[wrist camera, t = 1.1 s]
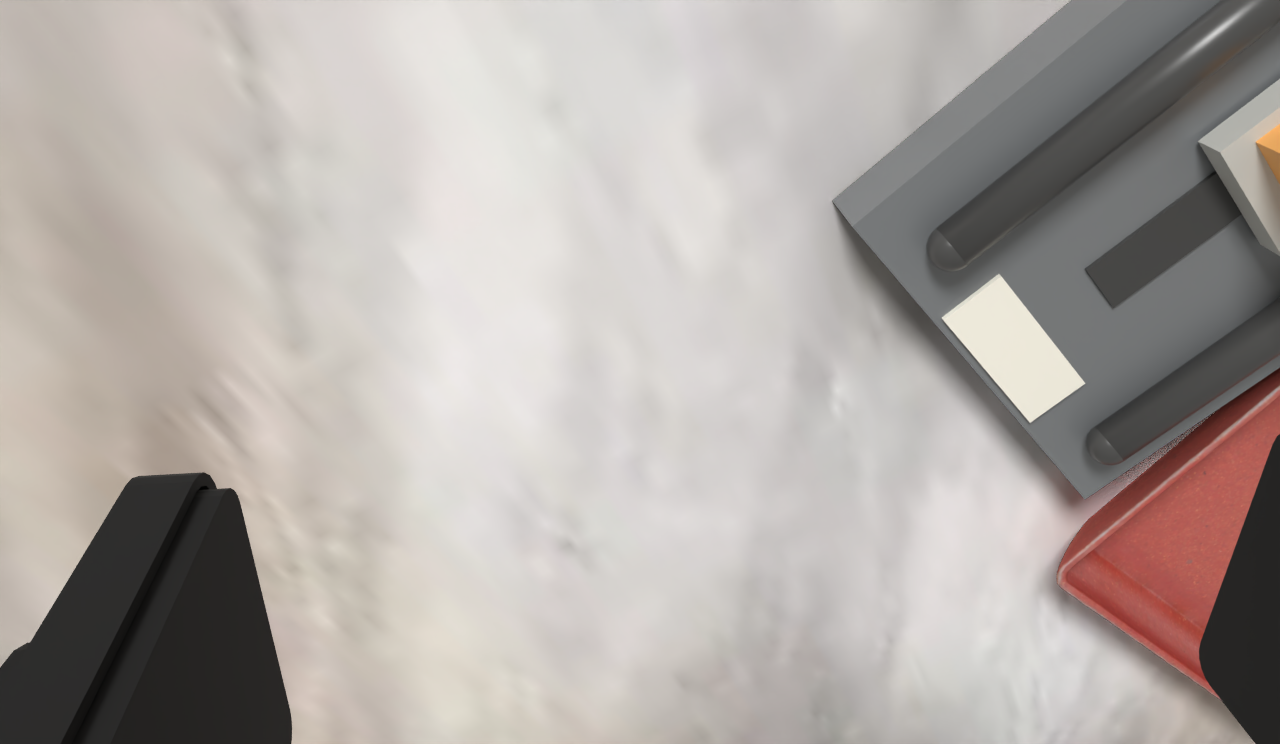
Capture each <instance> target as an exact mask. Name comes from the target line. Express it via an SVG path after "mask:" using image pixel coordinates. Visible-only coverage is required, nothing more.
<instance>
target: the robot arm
mask: <svg viewBox="0 0 1280 744" xmlns="http://www.w3.org/2000/svg"><path fill="white" fill-rule="evenodd" d="M1199 660H1200V665H1201V669H1202V671H1203V674H1204V676H1205V679H1206V680H1207V682H1208V683H1209V685H1210V686H1211V688H1212V689H1213V690H1214V691H1215V693H1216V694H1217V695H1218V696H1219V698H1220V699H1221V700H1222V702H1223V703H1224V704H1225V705H1226V707H1227V708H1228V709H1229V710H1230V712H1231V713H1232V714H1233V716H1234V717H1235V718H1236V719H1237V721H1238V722H1239V723H1240V724H1241V726H1242V727H1243V728H1244V729H1245V731H1246V732H1247V733H1248V735H1249V736H1250V737H1251V738H1252V740H1253V741H1254V742H1255V743H1256V744H1280V434H1279V435H1278V436H1277V437H1276V439H1275V441H1274V443H1273V444H1272V447H1271V450H1270V453H1269V455H1268V458H1267V461H1266V464H1265V466H1264V469H1263V472H1262V475H1261V477H1260V480H1259V483H1258V486H1257V488H1256V491H1255V494H1254V497H1253V499H1252V502H1251V505H1250V508H1249V510H1248V513H1247V516H1246V518H1245V521H1244V524H1243V527H1242V529H1241V532H1240V535H1239V538H1238V540H1237V543H1236V546H1235V549H1234V551H1233V554H1232V557H1231V560H1230V562H1229V565H1228V568H1227V571H1226V573H1225V576H1224V579H1223V582H1222V584H1221V587H1220V590H1219V593H1218V595H1217V598H1216V601H1215V604H1214V606H1213V609H1212V612H1211V615H1210V617H1209V620H1208V623H1207V625H1206V628H1205V631H1204V634H1203V636H1202V639H1201V642H1200V647H1199ZM291 740H292V721H291V713H290V708H289V704H288V700H287V696H286V691H285V687H284V683H283V679H282V675H281V671H280V667H279V662H278V658H277V654H276V650H275V646H274V642H273V637H272V633H271V629H270V625H269V621H268V617H267V613H266V608H265V604H264V600H263V596H262V592H261V588H260V584H259V579H258V575H257V571H256V567H255V563H254V559H253V555H252V550H251V546H250V542H249V538H248V534H247V530H246V525H245V521H244V517H243V513H242V509H241V505H240V501H239V498H238V495H237V494H236V492H235V491H234V490H233V489H231V488H226V489H217V488H216V485H215V483H214V481H213V480H212V478H211V476H210V475H208V474H206V473H187V474H169V475H151V476H138V477H135V478H132V479H131V480H130V481H129V482H128V483H127V485H126V486H125V487H124V489H123V491H122V492H121V494H120V496H119V497H118V499H117V501H116V502H115V504H114V505H113V507H112V509H111V510H110V512H109V514H108V515H107V517H106V519H105V520H104V522H103V524H102V525H101V527H100V529H99V530H98V532H97V533H96V535H95V537H94V538H93V540H92V542H91V543H90V545H89V547H88V548H87V550H86V552H85V553H84V555H83V557H82V558H81V560H80V561H79V563H78V565H77V566H76V568H75V570H74V571H73V573H72V575H71V576H70V578H69V580H68V581H67V583H66V585H65V586H64V588H63V590H62V591H61V593H60V594H59V596H58V598H57V599H56V601H55V603H54V604H53V606H52V608H51V609H50V611H49V613H48V614H47V616H46V618H45V619H44V621H43V622H42V624H41V626H40V627H39V629H38V631H37V632H36V634H35V636H34V637H33V639H32V641H31V642H30V643H26V644H25V645H23V646H21V647H19V648H18V649H16V650H14V651H13V653H12V654H11V655H10V656H9V657H8V659H7V660H6V661H5V662H4V664H3V665H2V666H1V667H0V744H291Z"/></svg>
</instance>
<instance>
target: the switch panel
mask: <svg viewBox="0 0 1280 744" xmlns="http://www.w3.org/2000/svg"><path fill="white" fill-rule="evenodd" d="M1279 79H1280V0H1071V1H1070V2H1069V3H1068V4H1066V5H1065V6H1064V7H1063V8H1062V9H1060V10H1059V11H1058V12H1057V13H1056V14H1054V15H1053V16H1052V17H1051V18H1050V19H1049V20H1047V21H1046V22H1045V23H1044V24H1043V25H1041V26H1040V27H1039V28H1038V29H1037V30H1035V31H1034V32H1033V33H1032V34H1031V35H1029V36H1028V37H1027V38H1026V39H1025V40H1023V41H1022V42H1021V43H1020V44H1019V45H1018V46H1016V47H1015V48H1014V49H1013V50H1012V51H1010V52H1009V53H1008V54H1007V55H1006V56H1004V57H1003V58H1002V59H1001V60H1000V61H998V62H997V63H996V64H995V65H994V66H992V67H991V68H990V69H989V70H988V71H986V72H985V73H984V74H983V75H982V76H981V77H979V78H978V79H977V80H976V81H975V82H973V83H972V84H971V85H970V86H969V87H967V88H966V89H965V90H964V91H963V92H961V93H960V94H959V95H958V96H957V97H955V98H954V99H953V100H952V101H951V102H950V103H948V104H947V105H946V106H945V107H944V108H942V109H941V110H940V111H939V112H938V113H936V114H935V115H934V116H933V117H932V118H930V119H929V120H928V121H927V122H926V123H924V124H923V125H922V126H921V127H920V128H918V129H917V130H916V131H915V132H914V133H913V134H911V135H910V136H909V137H908V138H907V139H905V140H904V141H903V142H902V143H901V144H899V145H898V146H897V147H896V148H895V149H893V150H892V151H891V152H890V153H889V154H887V155H886V156H885V157H884V158H883V159H882V160H880V161H879V162H878V163H877V164H876V165H874V166H873V167H872V168H871V169H870V170H868V171H867V172H866V173H865V174H864V175H862V176H861V177H860V178H859V179H858V180H856V181H855V182H854V183H853V184H852V185H850V186H849V187H848V188H847V189H846V190H845V191H843V192H842V193H841V194H840V195H839V196H837V197H836V198H835V199H834V200H833V202H834V204H835V205H836V206H837V208H838V209H839V210H840V212H841V213H842V214H843V216H844V217H845V218H846V219H847V221H848V222H849V223H850V225H851V226H852V227H853V228H854V230H855V231H856V232H857V233H858V234H859V235H860V237H861V238H862V239H863V240H864V241H865V242H866V244H867V245H868V246H869V247H870V248H871V250H872V251H873V252H874V253H875V254H876V255H877V257H878V258H879V259H880V260H881V261H882V262H883V264H884V265H885V266H886V267H887V268H888V269H889V271H890V272H891V273H892V274H893V275H894V276H895V278H896V279H897V280H898V281H899V282H900V284H901V285H902V286H903V287H904V288H905V289H906V291H907V292H908V293H909V294H910V295H911V296H912V298H913V299H914V300H915V301H916V302H917V303H918V305H919V306H920V307H921V308H922V309H923V310H924V312H925V313H926V314H927V315H928V316H929V318H930V319H931V320H932V321H933V322H934V323H935V325H936V326H937V327H938V328H939V329H940V330H941V332H942V333H943V334H944V335H945V336H946V337H947V339H948V340H949V341H950V342H951V343H952V344H953V346H954V347H955V348H956V349H957V350H958V352H959V353H960V354H961V355H962V356H963V357H964V359H965V360H966V361H967V362H968V363H969V364H970V366H971V367H972V368H973V369H974V370H975V371H976V373H977V374H978V375H979V376H980V377H981V378H982V380H983V381H984V382H985V383H986V384H987V386H988V387H989V388H990V389H991V390H992V391H993V393H994V394H995V395H996V396H997V397H998V398H999V400H1000V401H1001V402H1002V403H1003V404H1004V405H1005V407H1006V408H1007V409H1008V410H1009V411H1010V412H1011V414H1012V415H1013V416H1014V417H1015V418H1016V420H1017V421H1018V422H1019V423H1020V424H1021V425H1022V427H1023V428H1024V429H1025V430H1026V431H1027V432H1028V434H1029V435H1030V436H1031V437H1032V438H1033V439H1034V441H1035V442H1036V443H1037V444H1038V445H1039V446H1040V448H1041V449H1042V450H1043V451H1044V452H1045V454H1046V455H1047V456H1048V457H1049V458H1050V459H1051V461H1052V462H1053V463H1054V464H1055V465H1056V466H1057V468H1058V469H1059V470H1060V471H1061V472H1062V473H1063V475H1064V476H1065V477H1066V478H1067V479H1068V480H1069V482H1070V483H1071V484H1072V485H1073V486H1074V488H1075V489H1076V490H1077V491H1078V492H1079V493H1080V495H1081V496H1082V497H1083V498H1084V499H1087V498H1088V497H1089V496H1091V495H1092V494H1094V493H1095V492H1097V491H1098V490H1100V489H1101V488H1103V487H1104V486H1106V485H1107V484H1109V483H1110V482H1112V481H1113V480H1115V479H1116V478H1118V477H1119V476H1120V475H1122V474H1123V473H1125V472H1126V471H1128V470H1129V469H1131V468H1132V467H1134V466H1135V465H1137V464H1138V463H1140V462H1141V461H1143V460H1144V459H1146V458H1147V457H1149V456H1150V455H1151V454H1153V453H1154V452H1156V451H1157V450H1159V449H1160V448H1162V447H1163V446H1165V445H1166V444H1168V443H1169V442H1171V441H1172V440H1174V439H1175V438H1177V437H1178V436H1179V435H1181V434H1182V433H1184V432H1185V431H1187V430H1188V429H1190V428H1191V427H1193V426H1194V425H1196V424H1197V423H1199V422H1200V421H1202V420H1203V419H1205V418H1206V417H1208V416H1209V415H1210V414H1212V413H1213V412H1215V411H1216V410H1218V409H1219V408H1221V407H1222V406H1224V405H1225V404H1227V403H1228V402H1230V401H1231V400H1233V399H1234V398H1236V397H1237V396H1239V395H1240V394H1241V393H1243V392H1244V391H1246V390H1247V389H1249V388H1250V387H1252V386H1253V385H1255V384H1256V383H1258V382H1259V381H1261V380H1262V379H1264V378H1265V377H1267V376H1268V375H1269V374H1271V373H1272V372H1274V371H1275V370H1277V369H1278V368H1280V256H1279V255H1277V254H1275V253H1274V252H1272V251H1270V250H1269V249H1267V248H1265V247H1264V246H1262V245H1260V243H1259V241H1258V240H1257V238H1256V236H1255V235H1254V233H1253V231H1252V230H1251V228H1250V227H1249V225H1248V223H1247V222H1246V220H1245V218H1244V217H1243V215H1242V213H1241V212H1240V210H1239V208H1238V207H1237V205H1236V203H1235V202H1234V200H1233V198H1232V197H1231V195H1230V193H1229V192H1228V190H1227V189H1226V187H1225V185H1224V184H1223V182H1222V180H1221V179H1220V177H1219V175H1218V174H1217V172H1216V170H1215V169H1214V167H1213V165H1212V164H1211V162H1210V160H1209V159H1208V157H1207V155H1206V154H1205V152H1204V151H1203V149H1202V147H1201V146H1200V144H1199V142H1198V141H1199V140H1200V139H1201V138H1203V137H1204V136H1205V135H1207V134H1208V133H1209V132H1211V131H1212V130H1213V129H1215V128H1216V127H1217V126H1218V125H1220V124H1221V123H1222V122H1224V121H1225V120H1226V119H1228V118H1229V117H1230V116H1232V115H1233V114H1234V113H1235V112H1237V111H1238V110H1239V109H1241V108H1242V107H1243V106H1245V105H1246V104H1247V103H1249V102H1250V101H1251V100H1253V99H1254V98H1255V97H1256V96H1258V95H1259V94H1260V93H1262V92H1263V91H1264V90H1266V89H1267V88H1268V87H1270V86H1271V85H1272V84H1273V83H1275V82H1276V81H1277V80H1279Z"/></svg>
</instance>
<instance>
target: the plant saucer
mask: <svg viewBox="0 0 1280 744" xmlns="http://www.w3.org/2000/svg"><path fill="white" fill-rule="evenodd" d="M1279 434H1280V368H1278V369H1277V370H1275V371H1274V372H1272V373H1271V374H1269V375H1268V376H1267V377H1265V378H1264V379H1262V380H1261V381H1259V382H1258V383H1256V384H1255V385H1253V386H1252V387H1250V388H1249V389H1247V390H1246V391H1244V392H1243V393H1241V394H1240V395H1239V396H1237V397H1236V398H1234V399H1233V400H1231V401H1230V402H1228V403H1227V404H1225V405H1224V406H1222V407H1221V408H1220V409H1218V410H1217V411H1216V412H1215V413H1214V414H1213V415H1211V416H1210V417H1209V418H1208V419H1207V420H1206V421H1204V422H1203V423H1202V424H1201V425H1200V426H1199V427H1197V428H1196V429H1195V430H1194V431H1193V432H1191V433H1190V434H1189V435H1188V436H1187V437H1186V438H1184V439H1183V440H1182V441H1181V442H1180V443H1178V444H1177V445H1176V446H1175V447H1174V448H1172V449H1171V450H1170V451H1169V452H1168V453H1166V454H1165V455H1164V456H1163V457H1162V458H1160V459H1159V460H1158V461H1157V462H1156V463H1154V464H1153V465H1152V466H1151V467H1150V468H1149V469H1147V470H1146V471H1145V472H1144V473H1143V474H1141V475H1140V476H1139V477H1138V478H1137V479H1135V480H1134V481H1133V482H1132V483H1131V484H1129V485H1128V486H1127V487H1126V488H1125V489H1124V490H1122V491H1121V492H1120V493H1119V494H1118V495H1117V496H1115V497H1114V498H1113V499H1112V500H1111V501H1109V502H1108V503H1107V504H1106V505H1105V506H1104V507H1103V508H1101V509H1100V510H1099V511H1098V512H1097V513H1096V514H1094V515H1093V516H1092V517H1091V518H1089V519H1088V521H1087V522H1086V523H1085V524H1084V525H1083V527H1082V528H1081V529H1080V531H1079V532H1078V533H1077V535H1076V536H1075V537H1074V539H1073V540H1072V542H1071V544H1070V545H1069V547H1068V549H1067V551H1066V552H1065V554H1064V556H1063V559H1062V561H1061V563H1060V565H1059V568H1058V571H1057V584H1058V585H1059V586H1060V587H1061V588H1062V589H1063V590H1065V591H1066V592H1067V593H1069V594H1070V595H1072V596H1073V597H1075V598H1076V599H1077V600H1079V601H1080V602H1082V603H1083V604H1084V605H1085V606H1087V607H1089V608H1090V609H1092V610H1093V611H1094V612H1096V613H1097V614H1099V615H1100V616H1102V617H1103V618H1105V619H1106V620H1108V621H1109V622H1110V623H1112V624H1113V625H1115V626H1116V627H1117V628H1119V629H1120V630H1122V631H1123V632H1125V633H1126V634H1128V635H1129V636H1130V637H1131V638H1133V639H1134V640H1135V641H1137V642H1138V643H1140V644H1142V645H1143V646H1144V647H1146V648H1147V649H1149V650H1150V651H1152V652H1153V653H1154V654H1156V655H1157V656H1159V657H1160V658H1162V659H1163V660H1164V661H1166V662H1167V663H1168V664H1170V665H1171V666H1172V667H1174V668H1176V669H1177V670H1179V671H1180V672H1181V673H1182V674H1184V675H1186V676H1188V677H1189V678H1190V679H1191V680H1192V681H1194V682H1196V683H1197V684H1198V685H1200V686H1201V687H1203V688H1205V689H1206V690H1207V691H1208V692H1210V693H1211V694H1212V695H1214V696H1215V697H1217V698H1218V699H1220V698H1219V696H1218V695H1217V694H1216V693H1215V691H1214V690H1213V689H1212V688H1211V686H1210V685H1209V683H1208V682H1207V680H1206V679H1205V676H1204V674H1203V671H1202V669H1201V665H1200V660H1199V647H1200V642H1201V639H1202V636H1203V634H1204V631H1205V628H1206V625H1207V623H1208V620H1209V617H1210V615H1211V612H1212V609H1213V606H1214V604H1215V601H1216V598H1217V595H1218V593H1219V590H1220V587H1221V584H1222V582H1223V579H1224V576H1225V573H1226V571H1227V568H1228V565H1229V562H1230V560H1231V557H1232V554H1233V551H1234V549H1235V546H1236V543H1237V540H1238V538H1239V535H1240V532H1241V529H1242V527H1243V524H1244V521H1245V518H1246V516H1247V513H1248V510H1249V508H1250V505H1251V502H1252V499H1253V497H1254V494H1255V491H1256V488H1257V486H1258V483H1259V480H1260V477H1261V475H1262V472H1263V469H1264V466H1265V464H1266V461H1267V458H1268V455H1269V453H1270V450H1271V447H1272V444H1273V443H1274V441H1275V439H1276V437H1277V436H1278V435H1279ZM1220 700H1221V699H1220ZM1221 701H1222V700H1221Z"/></svg>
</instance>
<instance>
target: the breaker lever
mask: <svg viewBox="0 0 1280 744" xmlns="http://www.w3.org/2000/svg"><path fill="white" fill-rule="evenodd" d="M1198 142H1199V144H1200V146H1201V147H1202V149H1203V151H1204V152H1205V154H1206V155H1207V157H1208V159H1209V160H1210V162H1211V164H1212V165H1213V167H1214V169H1215V170H1216V172H1217V174H1218V175H1219V177H1220V179H1221V180H1222V182H1223V184H1224V185H1225V187H1226V189H1227V190H1228V192H1229V193H1230V195H1231V197H1232V198H1233V200H1234V202H1235V203H1236V205H1237V207H1238V208H1239V210H1240V212H1241V213H1242V215H1243V217H1244V218H1245V220H1246V222H1247V223H1248V225H1249V227H1250V228H1251V230H1252V231H1253V233H1254V235H1255V236H1256V238H1257V240H1258V241H1259V243H1260V245H1262V246H1264V247H1265V248H1267V249H1269V250H1270V251H1272V252H1274V253H1275V254H1277V255H1279V256H1280V79H1279V80H1277V81H1276V82H1275V83H1273V84H1272V85H1271V86H1270V87H1268V88H1267V89H1266V90H1264V91H1263V92H1262V93H1260V94H1259V95H1258V96H1256V97H1255V98H1254V99H1253V100H1251V101H1250V102H1249V103H1247V104H1246V105H1245V106H1243V107H1242V108H1241V109H1239V110H1238V111H1237V112H1235V113H1234V114H1233V115H1232V116H1230V117H1229V118H1228V119H1226V120H1225V121H1224V122H1222V123H1221V124H1220V125H1218V126H1217V127H1216V128H1215V129H1213V130H1212V131H1211V132H1209V133H1208V134H1207V135H1205V136H1204V137H1203V138H1201V139H1200V140H1199V141H1198Z"/></svg>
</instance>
